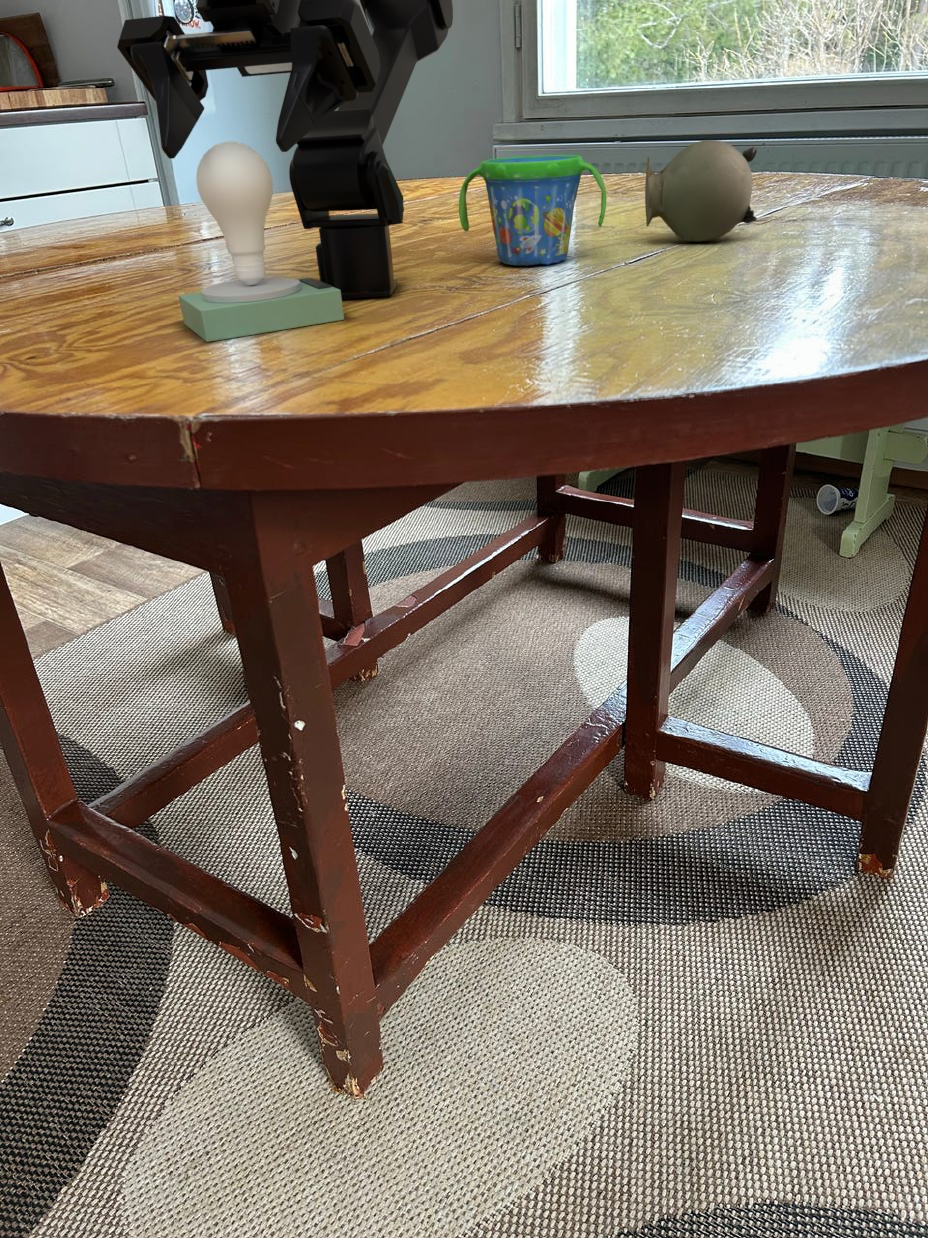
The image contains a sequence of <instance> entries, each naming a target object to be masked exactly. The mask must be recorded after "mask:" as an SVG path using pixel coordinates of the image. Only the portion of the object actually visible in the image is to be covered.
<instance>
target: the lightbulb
mask: <svg viewBox="0 0 928 1238" xmlns="http://www.w3.org/2000/svg"><path fill="white" fill-rule="evenodd" d="M196 187H197V192H198V194H199V197H200V199H201V201H202V203H203V204H204V207H206V209H207V211H208V212H209V214H210V215H211V216H212V217H213V219H214V221H216V223H217V225H218V227H219V229H220V231H221V233H222V236H223V238H224V241H225V246H226V249H227V252H228V254H229V255H230V256H231V260H232V265H233V270H234V273H235V277H236V279H237V280H241V281H244V282H245V283H246V284H247V285H255V284H258V283H259V280H260V279H262V278H265V276H266V266H265V264H266V263H265V262H266V261H265V256H264V251H265V250H266V244H265V226H266V220H267V216H268V215H267V214H268V213H269V210H270V206H271V202H272V199H273V194H274V180H273V176H272V172H271V170H270V167H269V165H268V163H267V162H266V161H265V159H264V158H263V156H262V155H261V154H260V153H258V151H256V150H255V149H253V148H252V147H251V146H249V145H247V144H244V143H243V142H237V141H224V142H220V143H218V144H215V145H213V146H212V147H210V148H208V150H207V151H206V152H204V154H203V155H202V157H201V159H200V161H199V163H198V166H197V167H196Z"/></svg>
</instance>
